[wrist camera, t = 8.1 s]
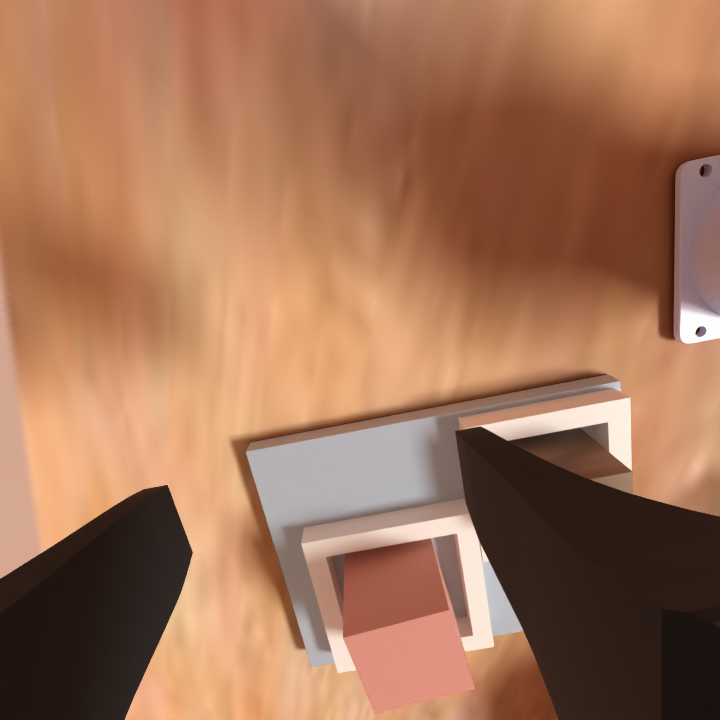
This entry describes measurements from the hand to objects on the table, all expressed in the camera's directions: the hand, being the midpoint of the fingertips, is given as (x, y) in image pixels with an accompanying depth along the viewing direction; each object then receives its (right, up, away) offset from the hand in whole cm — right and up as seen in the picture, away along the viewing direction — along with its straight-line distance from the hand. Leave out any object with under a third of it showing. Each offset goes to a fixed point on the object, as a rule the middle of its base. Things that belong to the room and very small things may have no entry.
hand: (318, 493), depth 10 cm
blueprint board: (+6, -6, +13) cm, 15 cm away
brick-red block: (+3, -8, +12) cm, 15 cm away
